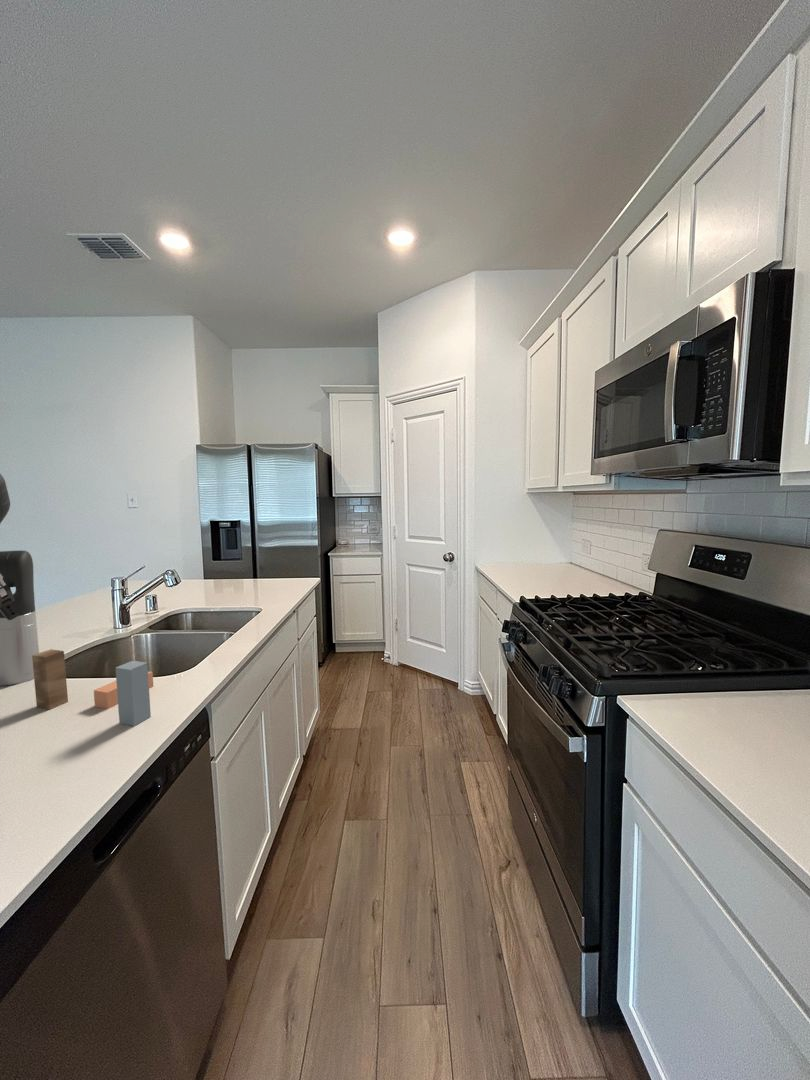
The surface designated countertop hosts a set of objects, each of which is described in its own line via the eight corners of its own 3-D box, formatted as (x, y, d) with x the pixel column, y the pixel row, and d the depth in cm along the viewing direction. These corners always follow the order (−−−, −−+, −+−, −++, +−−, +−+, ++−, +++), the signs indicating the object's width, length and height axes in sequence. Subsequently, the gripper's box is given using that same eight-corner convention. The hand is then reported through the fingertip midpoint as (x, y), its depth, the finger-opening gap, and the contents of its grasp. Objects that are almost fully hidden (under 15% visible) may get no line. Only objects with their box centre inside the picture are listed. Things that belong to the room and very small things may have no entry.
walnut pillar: (36, 707, 99) (32, 655, 98) (55, 699, 103) (51, 649, 102) (49, 709, 98) (45, 657, 97) (68, 701, 102) (63, 651, 101)
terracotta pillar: (93, 690, 99) (139, 670, 111) (94, 707, 100) (140, 685, 111) (107, 692, 98) (152, 671, 109) (108, 709, 98) (153, 687, 110)
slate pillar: (119, 723, 92) (115, 667, 91) (136, 714, 96) (132, 660, 95) (134, 726, 91) (130, 669, 90) (150, 716, 95) (147, 662, 94)
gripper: (0, 543, 77) (50, 615, 87) (-31, 524, 83) (19, 594, 93) (-53, 566, 72) (6, 641, 81) (-82, 544, 78) (-23, 616, 87)
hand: (13, 616), depth 87 cm, fingers closed
